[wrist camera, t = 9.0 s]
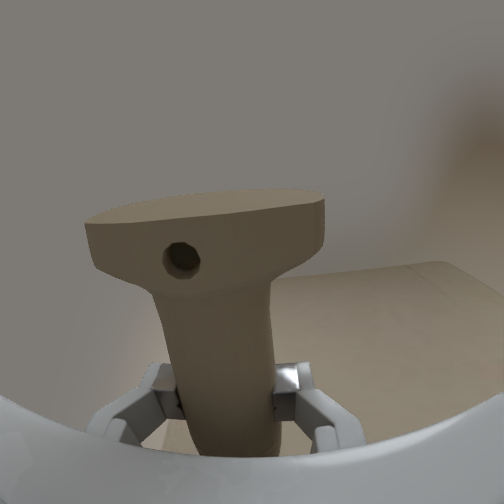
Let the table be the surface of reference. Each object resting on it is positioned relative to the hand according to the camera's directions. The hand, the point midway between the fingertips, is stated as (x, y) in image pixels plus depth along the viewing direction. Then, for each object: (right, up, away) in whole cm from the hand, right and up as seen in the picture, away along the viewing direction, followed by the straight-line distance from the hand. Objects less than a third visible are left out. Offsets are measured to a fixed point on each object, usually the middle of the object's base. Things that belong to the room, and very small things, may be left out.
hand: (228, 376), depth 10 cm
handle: (+1, -8, +2) cm, 8 cm away
